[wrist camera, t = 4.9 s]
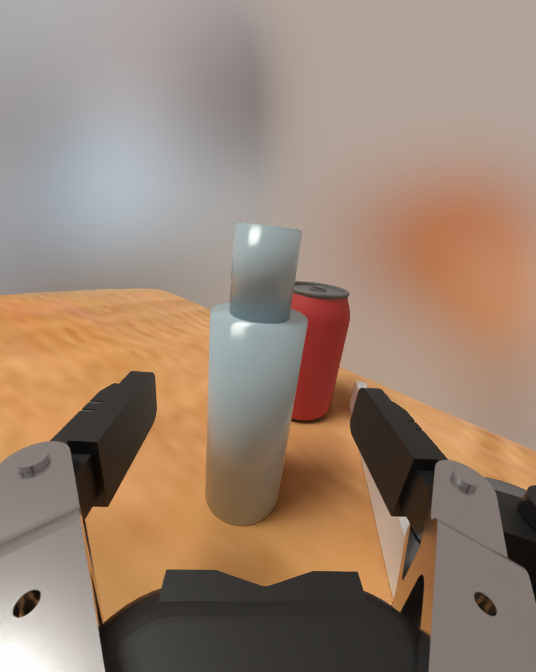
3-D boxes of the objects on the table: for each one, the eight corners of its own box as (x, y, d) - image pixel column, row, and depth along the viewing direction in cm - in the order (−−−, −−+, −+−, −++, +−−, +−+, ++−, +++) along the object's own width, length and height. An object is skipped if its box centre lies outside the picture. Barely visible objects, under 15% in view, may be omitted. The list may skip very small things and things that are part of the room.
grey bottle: (273, 534, 15) (325, 230, 9) (192, 514, 15) (194, 216, 9) (282, 466, 19) (321, 234, 13) (219, 453, 20) (231, 224, 14)
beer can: (333, 396, 29) (358, 288, 24) (321, 434, 23) (352, 300, 19) (277, 379, 31) (292, 277, 26) (254, 410, 25) (267, 285, 21)
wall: (499, 903, 7) (557, 883, 6) (458, 888, 7) (508, 866, 6) (358, 407, 27) (365, 382, 26) (349, 405, 27) (355, 380, 26)
